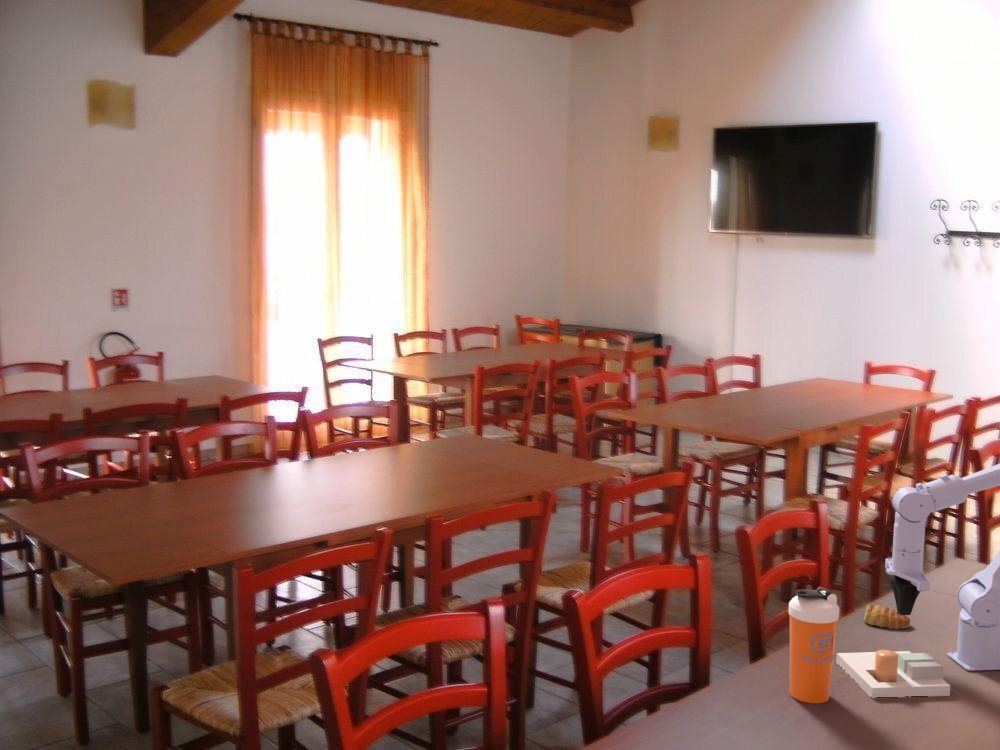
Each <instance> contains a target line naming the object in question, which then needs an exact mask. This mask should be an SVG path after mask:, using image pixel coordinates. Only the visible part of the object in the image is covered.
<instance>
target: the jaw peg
mask: <svg viewBox="0 0 1000 750" xmlns="http://www.w3.org/2000/svg"><path fill="white" fill-rule="evenodd" d="M875 652H876V656H875V673H874V679H875V680H876V681H877V682H878V683H880V682H897V668H898V654H897V653H895V651H892V650H889V649H878V650H876V651H875Z"/></svg>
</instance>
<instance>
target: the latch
mask: <svg viewBox="0 0 1000 750" xmlns="http://www.w3.org/2000/svg"><path fill="white" fill-rule="evenodd" d="M908 662H936V658H935V657H934V656H932V655H931V654H929V653H928V652H911V653H903V654H898V668H900V669H901V670H902V671H903V672H904V673H905V672H907V663H908Z"/></svg>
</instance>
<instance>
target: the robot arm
mask: <svg viewBox="0 0 1000 750" xmlns="http://www.w3.org/2000/svg"><path fill="white" fill-rule="evenodd" d="M996 487H1000V463H997V464H995V465H992V466H989V467H986V468H984V469H982V470H979V471H976V472H974V473H971V474H969V475H966V476H963V477H959V476H957V475H955V474H950V475H948V474H946V473H943V474H940V475H939V478H938V479H935V480H932V481H929V482H925V483H921V482H918V483H916V484H915V487H912V486H905V487H901V488H899V489H898V490H897V491H896V492H895V494H894V496H893V498H891V505H892V507H893V509H894V511H895V514H894V524H893V537H892V538H893V539H892V555H891V556H892V557H891V558H885V562H884V563H885V566H884V567H885V573H886V574H888V575H890V576H889V577H887V581H888V583H889V584H890V586H891V589H892V592H893V595H894V599H895V606H896V611H897V612H898V613H899V614H900V615H906V616H911V614H912V611H913V610H914V609H913V608H914V606H915V604H916V601H917V598H918V597H919V595H920V593H922V592H929V591H930V580H928V579H927V577H926V574H925V572H924V570H923V567H924V565H923V564H924V553H925V551H924V548H925V535H926V534H925V533H926V519H927V518H929V516H930V514H931V513H934V512H938V511H941V510H945V509H946V508H950V507H953V506H956V505H960V504H962V503H965V501H966V499H967V498H968V497H969V495H970V494H974V493H978V492H982V491H985V490H989V489H993V488H996ZM893 575H894V576H893ZM956 599H957V602H958V604H959V605H960V606H961V610H960V612H959V615H958V616H959V617H958V626H957V627H958V628H957V643H956V651H955V652H953V651H952V652H950V651H949V652H947V656H948V657H949V658H951V660H953V661H954V662H956V663H957V665H960V666H961V667H962V668H963V669H964V670H966V671H972V672H974V671H996V670H998V671H1000V550H999V551H997V553H996V555H995V556H994V557H993V559H992V560H991V561H990V563H989V564H988V565H987V567H986V568H985V569H983V570H980V571H978V572H976V573H975V574H974V575H973V576H972V577H971V578H970V579H969V580H967V581H965V582H963V583H962V584H960V585H959V587H958V589H957V592H956Z"/></svg>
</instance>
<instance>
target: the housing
mask: <svg viewBox="0 0 1000 750" xmlns="http://www.w3.org/2000/svg"><path fill="white" fill-rule="evenodd" d="M894 652H895V653H897V654H903V653H912V652H911V651H910V650H899V651H898V650H897V651H894ZM875 656H876V651H872V652H871V651H867V652H865V651H864V652H861V651H859V652H836V660H835V661H836V662H835V663H836V664H837V666H839V665H840V666H839V667H840V668H841V667H842V668H841V670H843V671H844V670H845V671H844V672H845V674H846V675H848V674H849V675H850V676H849V675H848V676H849V677H850V678H851V679H852V678H853V679H854V680H855V681H854V680H853V679H852V680H853V681H854V682H855V683H856V684H857V683H858V684H857V685H858V686H859V687H860V689H862V690H863V691H864V693H866V694H867V695H868V696H869V698H871V697H872V698H871V699H877V698H876V697H898V698H906V697H905V696H909V697H908V698H912V697H911V696H928V697H949V696H950V695H951V685H950V684H949V683H948V682H947V681H946V680H944V679H943V669H944V665H942V664H941V663H940V662H939V661H935V662H908V663H907V672H905V673H904V672H903V671H902V670H901V669H900V668H897V682H880V683H878V682H877V681H876V680H875V679H874V673H875Z"/></svg>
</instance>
